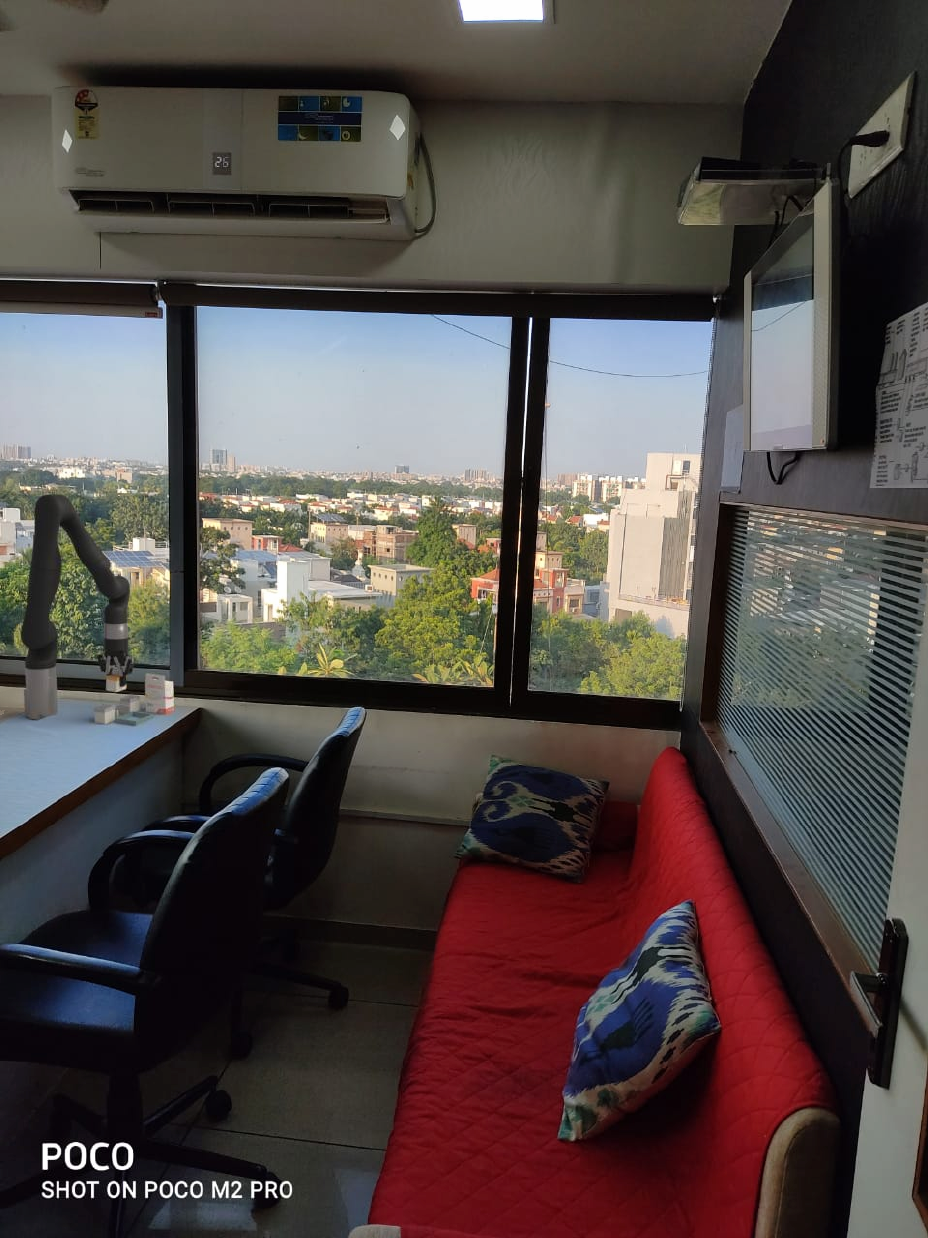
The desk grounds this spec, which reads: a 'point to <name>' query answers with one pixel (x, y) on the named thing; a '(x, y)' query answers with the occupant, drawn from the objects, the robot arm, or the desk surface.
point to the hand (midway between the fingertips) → (116, 685)
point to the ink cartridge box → (158, 694)
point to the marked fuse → (113, 683)
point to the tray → (124, 720)
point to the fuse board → (108, 713)
